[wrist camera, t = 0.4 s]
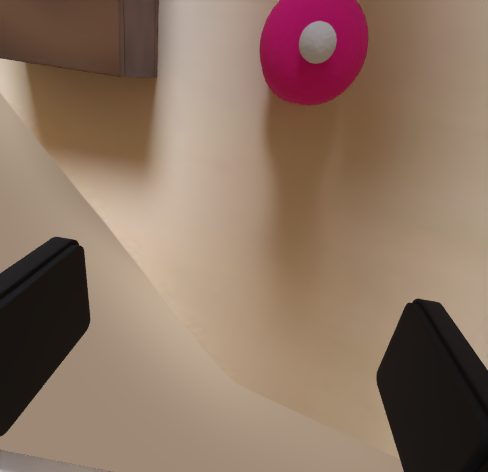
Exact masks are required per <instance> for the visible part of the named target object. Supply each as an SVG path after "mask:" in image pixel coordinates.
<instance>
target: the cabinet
mask: <svg viewBox="0 0 488 472" xmlns="http://www.w3.org/2000/svg"><path fill="white" fill-rule="evenodd" d="M157 44H158V0H0V58H2V59H9V60H15V61H21V62H28V63H34V64H41V65H47V66H54V67H60V68H67V69H73V70H79V71H86V72H92V73H99V74H105V75H112V76H118V77H154V78H156V77H157Z"/></svg>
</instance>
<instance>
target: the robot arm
mask: <svg viewBox="0 0 488 472" xmlns="http://www.w3.org/2000/svg"><path fill="white" fill-rule="evenodd" d="M85 267H86V266H85V255H84V249H83V247H82V246H79V243H78V242H77V241H76V240H72V239H66V238H61V237H54V238H51V239H50V240H49V241H47V242H46V243H44V244H43V245H41V246H40V247H38V248H37V249H35V250H34V251H32V252H31V253H30V254H28V255H27V256H25V257H24V258H22V259H21V260H19V261H18V262H16V263H15V264H13V265H12V266H11V267H9V268H8V269H6V270H5V271H3V272H2V273H0V436H2V435H4V434H5V433H6V432H7V431H8V430H9V429H10V427H11V426H12V425H13V424H14V422H15V421H16V420H17V418H18V417H19V416H20V415H21V413H22V412H23V411H24V409H25V408H26V407H27V406H28V404H29V403H30V402H31V401H32V399H33V398H34V397H35V395H36V394H37V393H38V392H39V390H40V389H41V388H42V387H43V385H44V384H45V383H46V382H47V380H48V379H49V378H50V376H51V375H52V374H53V373H54V371H55V370H56V369H57V368H58V366H59V365H60V364H61V362H62V361H63V360H64V359H65V357H66V356H67V355H68V354H69V352H70V351H71V350H72V349H73V347H74V346H75V345H76V343H77V342H78V341H79V340H80V338H81V337H82V336H83V335H84V333H85V332H86V331H87V329H88V327H89V324H90V310H89V299H88V288H87V278H86V268H85ZM377 385H378V388H379V392H380V395H381V398H382V401H383V405H384V408H385V411H386V415H387V418H388V421H389V424H390V428H391V431H392V434H393V437H394V441H395V444H396V447H397V450H398V454H399V457H400V460H401V463H402V467H403V470H404V472H488V370H487V369H486V367H485V366H484V364H483V363H482V362H481V360H480V359H479V357H478V356H477V354H476V353H475V352H474V350H473V349H472V347H471V346H470V344H469V343H468V342H467V340H466V339H465V337H464V336H463V334H462V333H461V332H460V330H459V329H458V327H457V326H456V324H455V323H454V322H453V320H452V319H451V317H450V316H449V314H448V313H447V312H446V310H445V309H444V307H443V306H442V305H441V304H440V303H439V302H434V301H428V300H422V299H415V300H414V301H413V303H408V304H406V306H405V308H404V310H403V313H402V315H401V317H400V320H399V322H398V324H397V327H396V329H395V331H394V334H393V336H392V338H391V341H390V343H389V345H388V348H387V350H386V352H385V355H384V357H383V359H382V362H381V364H380V366H379V369H378V371H377ZM0 472H111V471H106V470H101V469H96V468H91V467H85V466H81V465H75V464H70V463H65V462H60V461H55V460H50V459H44V458H39V457H34V456H29V455H23V454H19V453H13V452H8V451H3V450H0Z"/></svg>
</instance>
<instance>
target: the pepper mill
mask: <svg viewBox="0 0 488 472" xmlns="http://www.w3.org/2000/svg"><path fill="white" fill-rule="evenodd" d="M367 48H368V26H367V22H366V19H365V15H364V13H363V11H362V9H361V7H360V5H359V4H358V2H357V1H356V0H280V1H279V2H278V3H277V5H276V6H275V7H274V8H273V10H272V11H271V13H270V15H269V16H268V18H267V20H266V22H265V25H264V28H263V31H262V35H261V40H260V60H261V65H262V71H263V75H264V78H265V81H266V82H267V84H268V86H269V88H270V89H271V90H272V91H273V93H274V94H275V95H277V96H278V97H279V98H281V99H283V100H284V101H287V102H290V103H295V104H300V105H317V104H321V103H325V102H328V101H330V100H332V99H334V98H335V97H337V96H338V95H340V94H341V93H342V92H344V91H345V90H346V89H347V88H348V87H349V86H350V85H351V84H352V82H353V81H354V80H355V78H356V77H357V76H358V74H359V72H360V70H361V68H362V66H363V63H364V60H365V58H366V54H367Z"/></svg>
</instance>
